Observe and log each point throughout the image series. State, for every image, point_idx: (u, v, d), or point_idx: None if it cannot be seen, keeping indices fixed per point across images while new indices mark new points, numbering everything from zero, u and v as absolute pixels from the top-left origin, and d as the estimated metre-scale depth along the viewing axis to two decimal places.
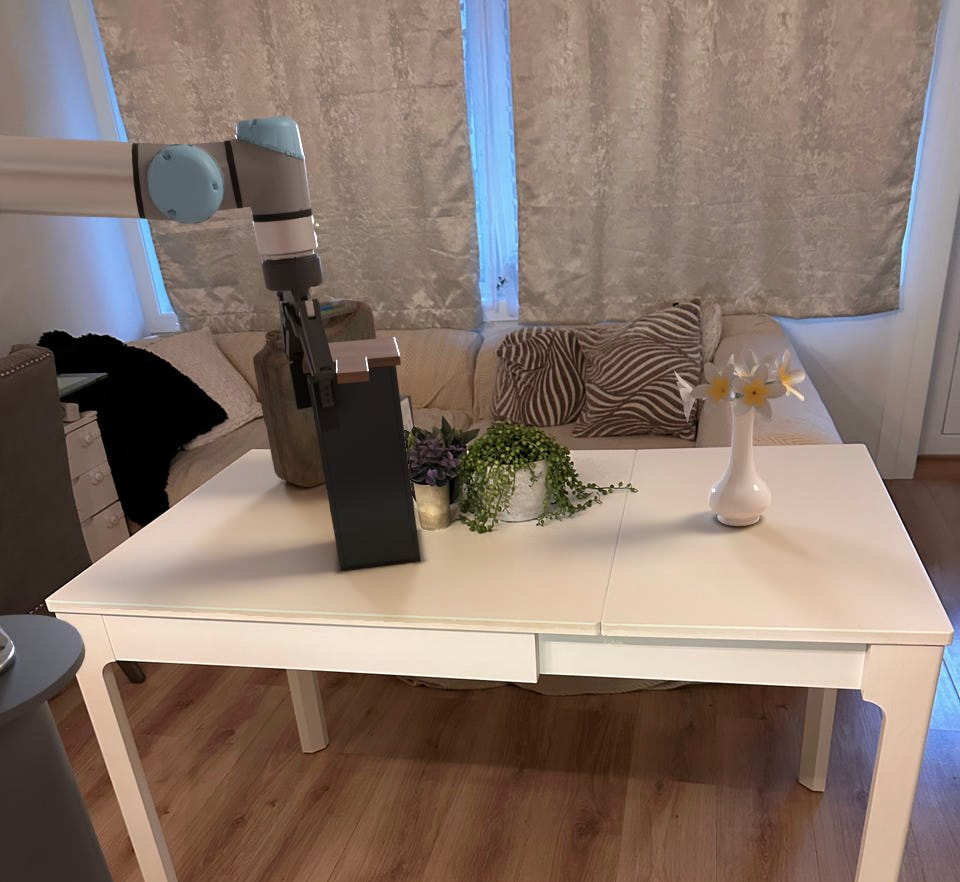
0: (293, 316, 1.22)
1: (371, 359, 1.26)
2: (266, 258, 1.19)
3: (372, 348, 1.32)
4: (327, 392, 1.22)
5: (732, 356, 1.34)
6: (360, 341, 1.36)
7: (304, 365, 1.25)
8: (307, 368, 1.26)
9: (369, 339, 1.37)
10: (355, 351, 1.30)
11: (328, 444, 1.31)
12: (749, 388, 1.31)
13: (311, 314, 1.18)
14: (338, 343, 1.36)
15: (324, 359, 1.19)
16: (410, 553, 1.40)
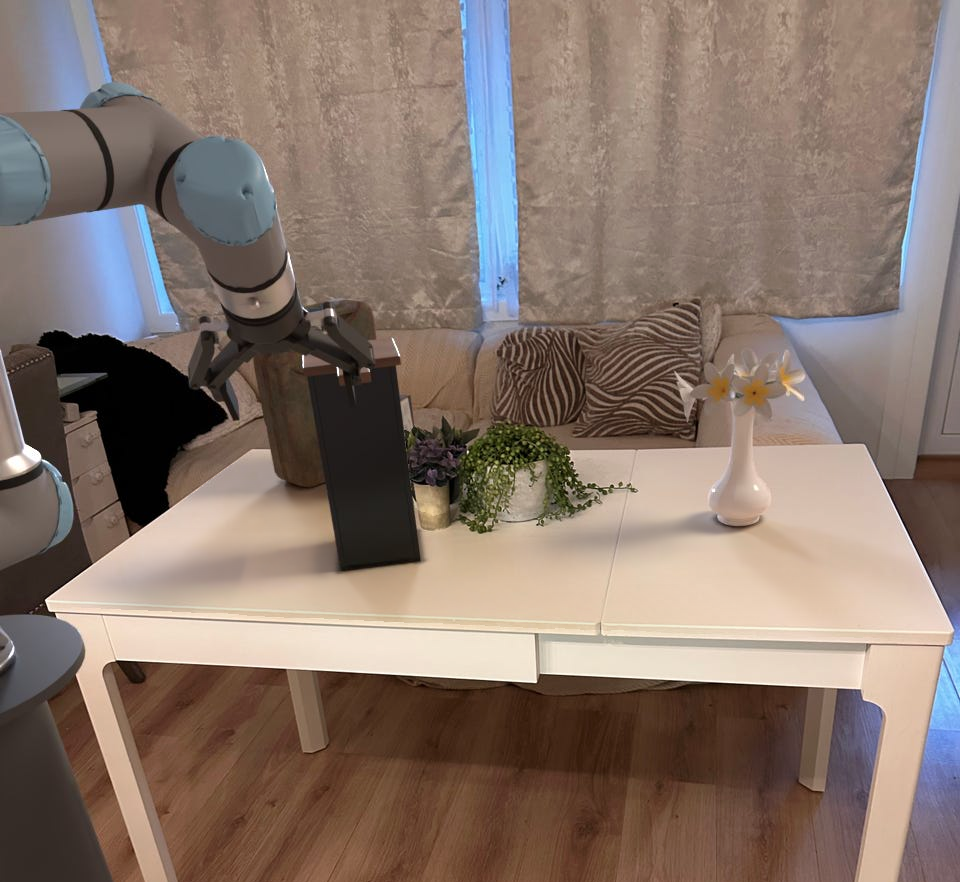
0: None
1: None
2: None
3: None
4: None
5: (732, 356, 1.34)
6: None
7: (304, 368, 1.25)
8: (308, 371, 1.25)
9: None
10: None
11: (328, 444, 1.31)
12: (749, 388, 1.31)
13: None
14: None
15: (191, 369, 1.01)
16: (410, 553, 1.40)
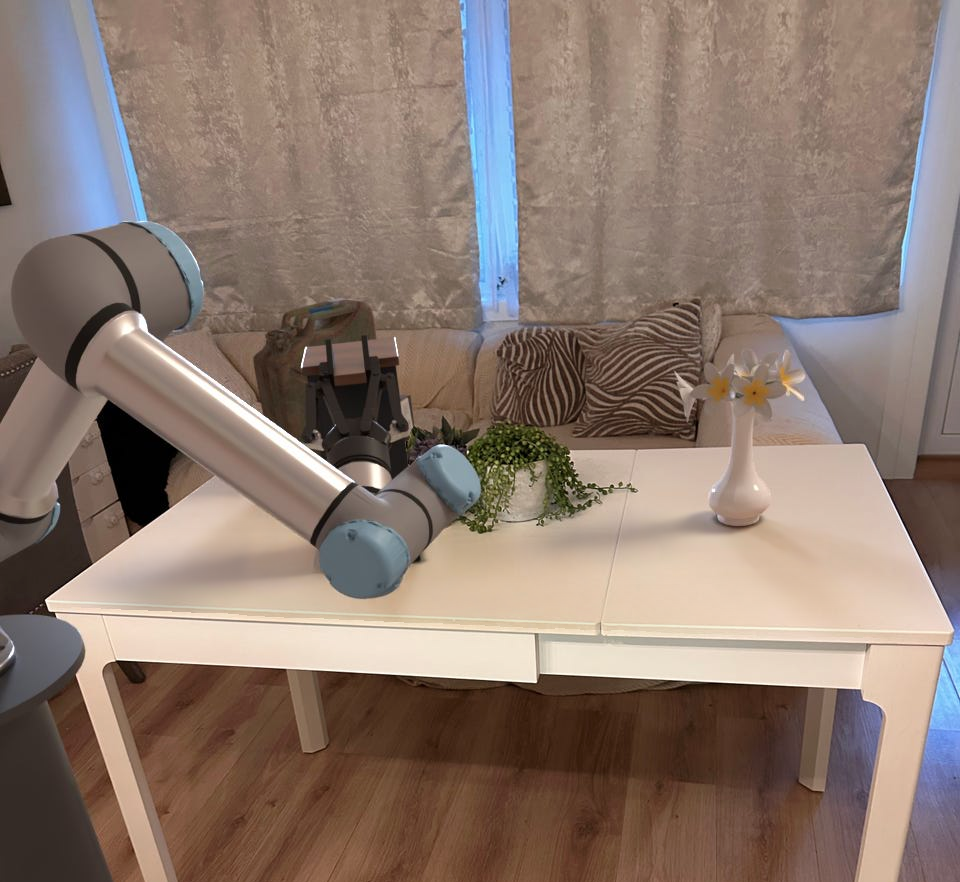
0: (336, 426, 1.16)
1: None
2: (351, 462, 1.10)
3: (371, 349, 1.32)
4: None
5: (732, 356, 1.34)
6: (360, 342, 1.36)
7: (303, 368, 1.26)
8: (306, 371, 1.26)
9: (369, 340, 1.37)
10: (354, 352, 1.31)
11: None
12: (749, 388, 1.31)
13: None
14: (338, 344, 1.36)
15: None
16: None
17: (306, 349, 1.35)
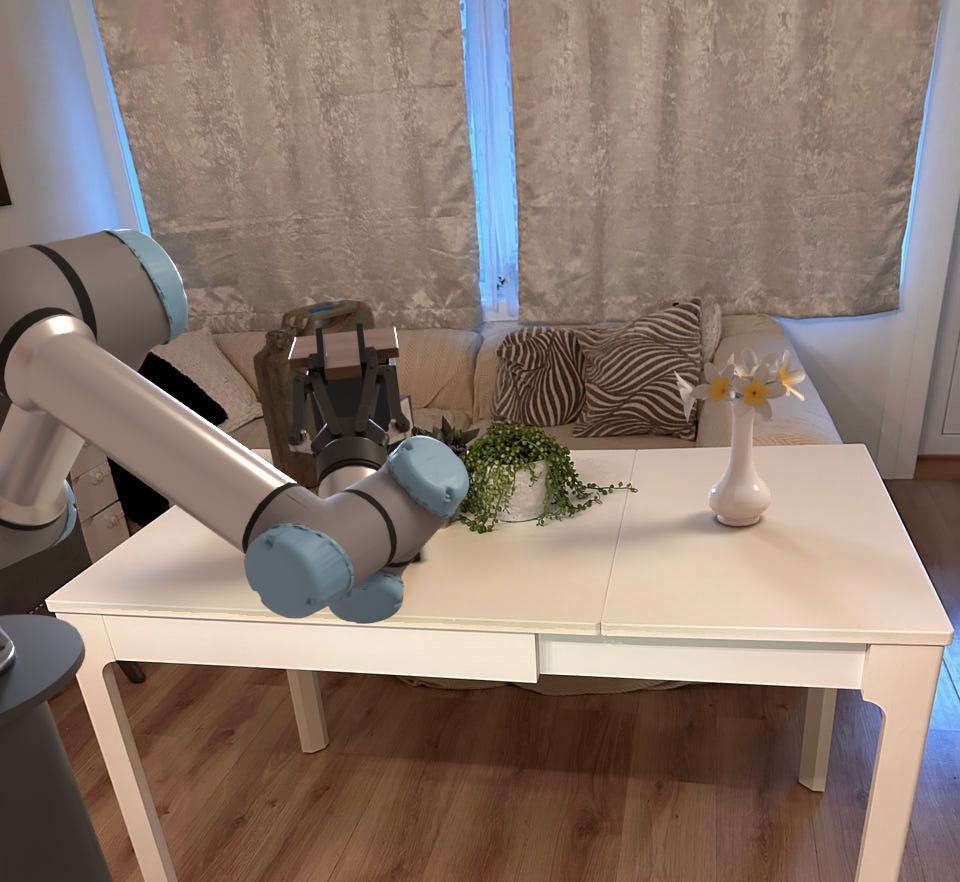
0: (328, 426, 1.01)
1: None
2: (344, 467, 0.96)
3: (368, 339, 1.17)
4: None
5: (732, 356, 1.34)
6: (356, 332, 1.22)
7: (290, 360, 1.11)
8: (294, 363, 1.12)
9: None
10: (349, 343, 1.16)
11: None
12: (749, 388, 1.31)
13: None
14: (332, 335, 1.22)
15: None
16: None
17: (295, 339, 1.21)
